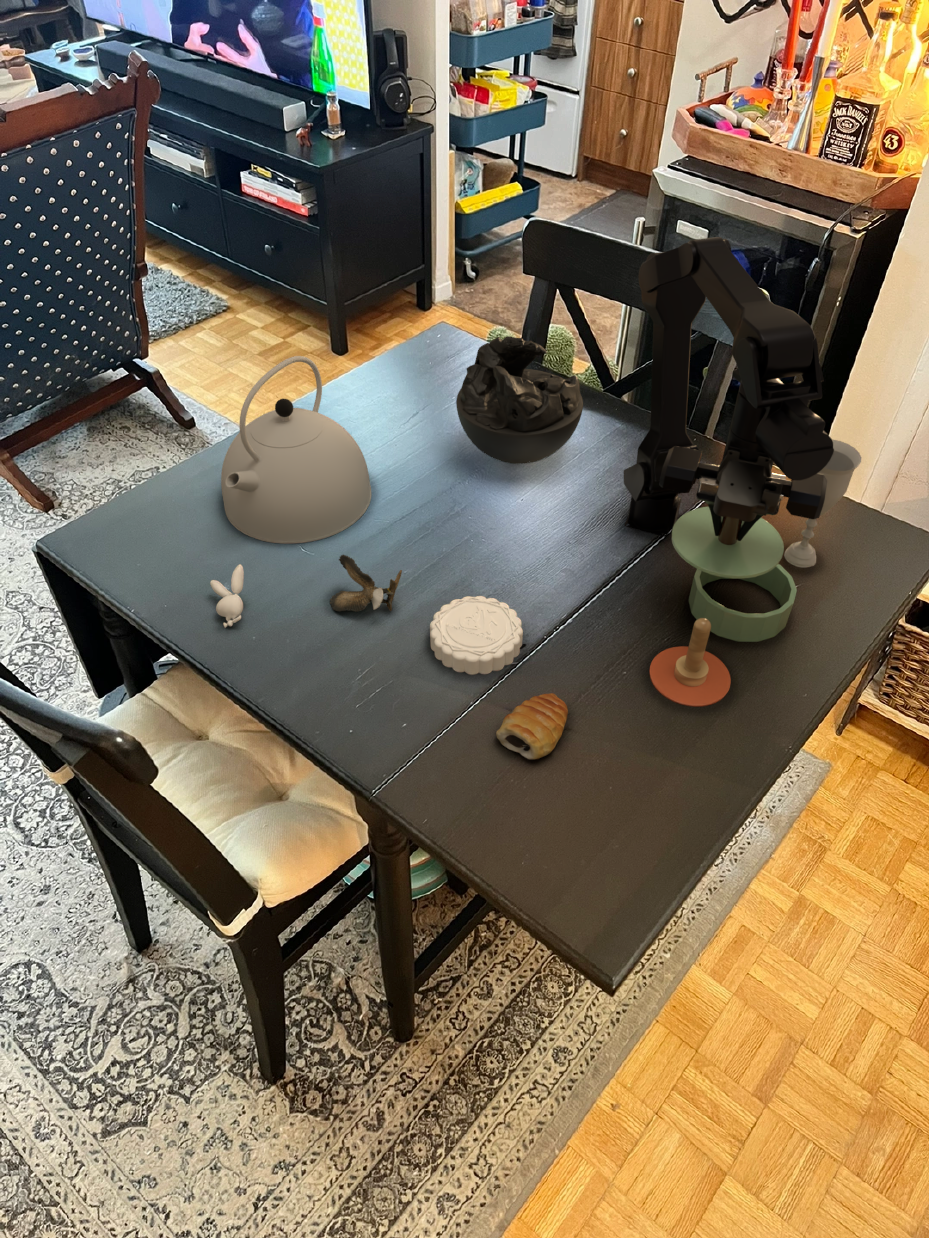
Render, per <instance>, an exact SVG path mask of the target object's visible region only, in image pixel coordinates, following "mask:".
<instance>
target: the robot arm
mask: <svg viewBox="0 0 929 1238" xmlns="http://www.w3.org/2000/svg"><path fill="white" fill-rule="evenodd" d="M638 284H639V285H638V286H639V288H640V291H641V292H640V293H641V295H640V296H641V303H642V305H643V307H644V308H645V310H646V312H647V314H648V315H649V318H650V319H651V321H652V323H653V324H652V325H653V328H652V329H653V332H652V362H651V390H650V392H651V395H650V420H649V421H650V422H649V423H650V424H649V425H650V426H649V430H648V432H647V433H646V434H645V436H644V438H643V439H642V441H641V443H640V444H639V446H638V448H637V454H636V463H635V464H633V465H631V466H629V467H627V468H625V469H624V470H623V484H624V487H625V488H626V489H627V491H628V493H629V494H630V496H631V497H630V504H629V509H628V515H627V518H626V520H625V522H624V524H623V525H624V527H625V528H628V529H633V530H636V531H640V532H644V533H648V534H651V535H656V536H660V537H663V538H664V537H667V536H668V534H669V532H670V530H673V526H674V524H675V523H676V521H677V520H678V519H679V513H680V508H681V503H682V497H679V494H684V493H685V494H688V493H690V492H691V490H692V488H693V486H694V485H695V484H696V482H697V480H698V488H697V491H696V499H697V500H699V501H703V502H705V503H706V504H707V507H709V509H710V512H711V516H712V521H713V527H714V532H715V536H719V532H720V528H721V523H722V519H723V517H725V516H727V517H731V518H736V519H740V520H742V521H743V522H742V525H741V529H740V532H739V536H738V541H741V540H742V539H743V538H744V536H745V535H746V534H747V533H748V531H749V530H750V529H751V528H752V526H753V525H754V524H755V523H756V522H757V521H758V520H759V519H760V518H763V517H766V516H768V515H770V516H776V515H778V513H779V512H780V506H781V502H782V501H783V499H784V498H788V499H787V502H786V505H785V509H786V510H787V512H788V513H789V514H790V516H794V517H800V518H803V519H819V518H820V514H821V511H822V508H823V505H824V501H825V495H826V488H827V479H826V477H825V476H824V475H822V474H817V473H818V472H820V471H821V470H822V469H823V468H824V467H825V466H826V465H827V464H828V462H829V461H830V459H831V457H832V455H833V452H834V448H833V441H832V438H831V436H830V435H829V434H828V433H827V431H825V427H826V421H825V420H824V419H823V418H822V417H821V416H820V415H818V414H817V413H815V412H814V411H812V409H811V408H809V407H808V404H809V401H815V400H821V399H822V398H823V388H822V387H823V386H822V382H824V374H823V371H822V364H821V361H820V355H819V345H818V340H817V337H816V334H815V331H814V329H813V328H812V326H811V325H810V323H808V322H807V321H806V320H805V319H804V318H803V317H801V316H800V315H799V314H797V312H795V311H794V310H791V309H788V308H786V307H783V306H780V305H777V304H774V303H773V302H772V301H771V300H770V299H769V298H768V297H767V296H766V294H765V293H764V292H763V291H762V289H761V288H760V287H759V286H758V284H757V283H756V282H755V281H754V279H753V278H752V277H751V275H750V274H749V272H748V271H747V270H746V269H745V268H744V267H743V265H742V263H740V262H739V260H738V258H736V257H735V255H734V254H733V252H732V247H731V243H730V242H729V240H728V239H727V238H723V237H721V236H716V237H706V238H696V239H690V240H689V241H687V242H685V243H683V244H681V245H680V246H678V247H675V248H673V249H669V250H667V251H660V252H651V253H649V254H648V255H647V257H646V260H645V261H643V262H642V263H641V265H640V267H639V269H638ZM707 300H708V301H709V303H710V304H711V307H713V309H714V310H715V311H716V313H717V314H718V316H719V317H720V318H721V320H722V321H723V323H724V324H725V325H726V327H727V328H728V330H729V331H730V333H731V335H732V337H733V340H732V346H731V349H730V350H731V351H730V352H731V353H730V354H731V355H732V357H733V359H734V361H735V363H736V367H737V368H736V369H733V370H732V376H733V378H734V379H735V380H736V381H737V382H738V383H739V386H738V391H737V395H736V401H735V404H734V407H733V412H732V416H731V421H730V425H729V430H728V434H727V437H726V442H725V446H724V451H723V456H722V459H721V461H720V463H719V464H718V465H717V464H712V463H710V464H709V463H703V462H701V461H702V456H703V450H699V447H698V446H697V445H695V444H694V443H693V441H692V439H691V437H690V436H689V435H688V433H687V419H688V418H687V417H688V400H689V399H688V398H689V381H690V380H689V379H690V363H691V362H690V360H691V359H690V358H691V340H692V326H693V322H694V321H695V319H696V318H697V316H698V314H699V313H700V311H701V309H702V308H703V306H704V305H705V303H706V301H707ZM797 376H801V377H802V380H803V381H796V382H795V381H794V382H788V383H783V381H781V379H783V378H792V377H797ZM774 464H775V466H776V467H777V468H778V469H779V470H780V472H781V473H782V474H781V473H780V474H779V473H774V472H772V469H773V466H774ZM788 479H789V480H788Z"/></svg>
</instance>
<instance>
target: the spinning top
mask: <svg viewBox="0 0 929 1238" xmlns="http://www.w3.org/2000/svg"><path fill="white" fill-rule="evenodd" d="M688 647H689V646H687V645H686V646H685V645H682V646H681V645H679V646H673V647H669V648H665V649H664V650H662V651H660V652H659V653H657V654H656V655H655V656H654V658H653V659H652V661H651V663H650V666H649V671H648V672H649V679H650V681H651V684H652V685H653V687H654V689H656V691H657V692H658V693H659V694H661V695H662V696H663V697H664V698H666V699H668V700H669V701H671V702H673V703H675V704H678V705H680V706H681V705H682V706H687V707H692V708H693V707H695V708H700V707H707V706H712V705H714V704H716V703H718V702H720V701H721V700H723V699H724V698H725V697H726V696H727V694H728V693H729V690H730V688H731V683H732V682H731V681H732V679H731V674H730V671H729V669H728V668H727V666H726V665H725V663H723V661H722V660H721V659H720V658H719V657H717V656H716V655H715V654H713V653H711V652H709V651H707V650H705V653H704V657H703V660H704V661H705V662H706V663H707V665H708V668H709V670H708V674H707V678H706V680H705V682H704V683H703V684H701V685H699V686H687V685H684V684H682V683H680V682H679V681H678V680H677V679H676V677H675V675H674V670H675V665H676V662H677V660H678V659H679V658H680V657H682V656H685V655H687V651H688Z"/></svg>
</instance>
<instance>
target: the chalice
mask: <svg viewBox="0 0 929 1238" xmlns="http://www.w3.org/2000/svg"><path fill="white" fill-rule="evenodd" d="M831 439H832V438H831ZM832 441H833V448H834V452H833V455H832V457H831V459H830V461H829V462H828V464H827V465H826V466H825V467H824V468H823V469H822V470H821V471H820V472H818V473H817V474H822V475H824V476H825V477H826V479H827V488H826V495H825V501H824V505H823V508H822V511H821V514H820V516H824V515H825V514H827V513H828V512H829V511H830V510H831V509H832V508H834V507H835V506H836V505H837V504H838V503H839V502H840V501H841V499H842V498H843V497H844V496H845V494H847V491H848V488H849V485H850V482H851V481H852V477H853V474H854V471H855V470H856V469H857V468H858V467H859V466H860V465H861V464H862V455H861V453H860V452H859V451H858V450H857V449H856V447H854V446H852V445H850V444H849V443H847V442H844V441H842V440H838V439H832ZM817 519H818V518H817ZM817 519H809V518H807V520H805V524H806V528H805V529H803V530H802V531H801V535H802V540H800V541H795V542H792V543H791V544H790V545H789V546H788V547H787V548H786V549H785V550H784V553H783V556H784V559H785V561H787V562H788V563H789V564H790V565H793V566H795V567H797V568H810V567H814V566H815V565H816V564H817V555H816V549H815V548H814V546H813V545H811V544H810V540H811V539H812V538H814V537H815V533H814V528H815V527H817V526H818V522H817Z"/></svg>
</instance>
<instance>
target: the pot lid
mask: <svg viewBox="0 0 929 1238" xmlns="http://www.w3.org/2000/svg"><path fill="white" fill-rule="evenodd" d="M742 522H743V521H742V520H740V519H736V518H731V517H727V516H725V517H723V519H722V523H721V528H720V532H719V536H715V532H714V527H713V521H712V516H711V512H710V509H709V506H702V507H698V508H694V509H691V510H689V511H687V512H685V513H684V514H683V515H681V516H680V517H678V518H677V521H676V523H675V524H674V526H673V529H671V543H672V546H673V548H674V550H675V552H676V553H677V554H678V556H679V557H680V558H681V559H683V560H684V561H685V562H686V563H688V564H689V565H690V566H691V567H693V568H695V569H696V570H697V569H699V570H701V571H703V572H706V573H708V574H711V575H715V576H719V577H725V578H735V579H734V580H737V579H738V580H741V579H742V578H751V577H756V576H760V575H763V574H765V573H767V572H769V571H771V570H772V569H773V568H775V567H776V566H777V565H778V564H780V562H781V560H782V558H783V556H784V553H785V545H784V541H783V538H782V536H781V534H780V533H779V531H778V530H777V529H776V528H775V527H774V525H772V524H771V523H770V522H768V521H767V520H766V519H764V518H763V517H761V518H760V519H759V520H758V521H757V522H756V523H755V524H754V525H753V526H752V528H751V529H750V530H749V531H748V533H747V534H746V535H745V536H744V538H743V539H742V540H741V541H738V536H739V532H740V529H741V525H742Z"/></svg>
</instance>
